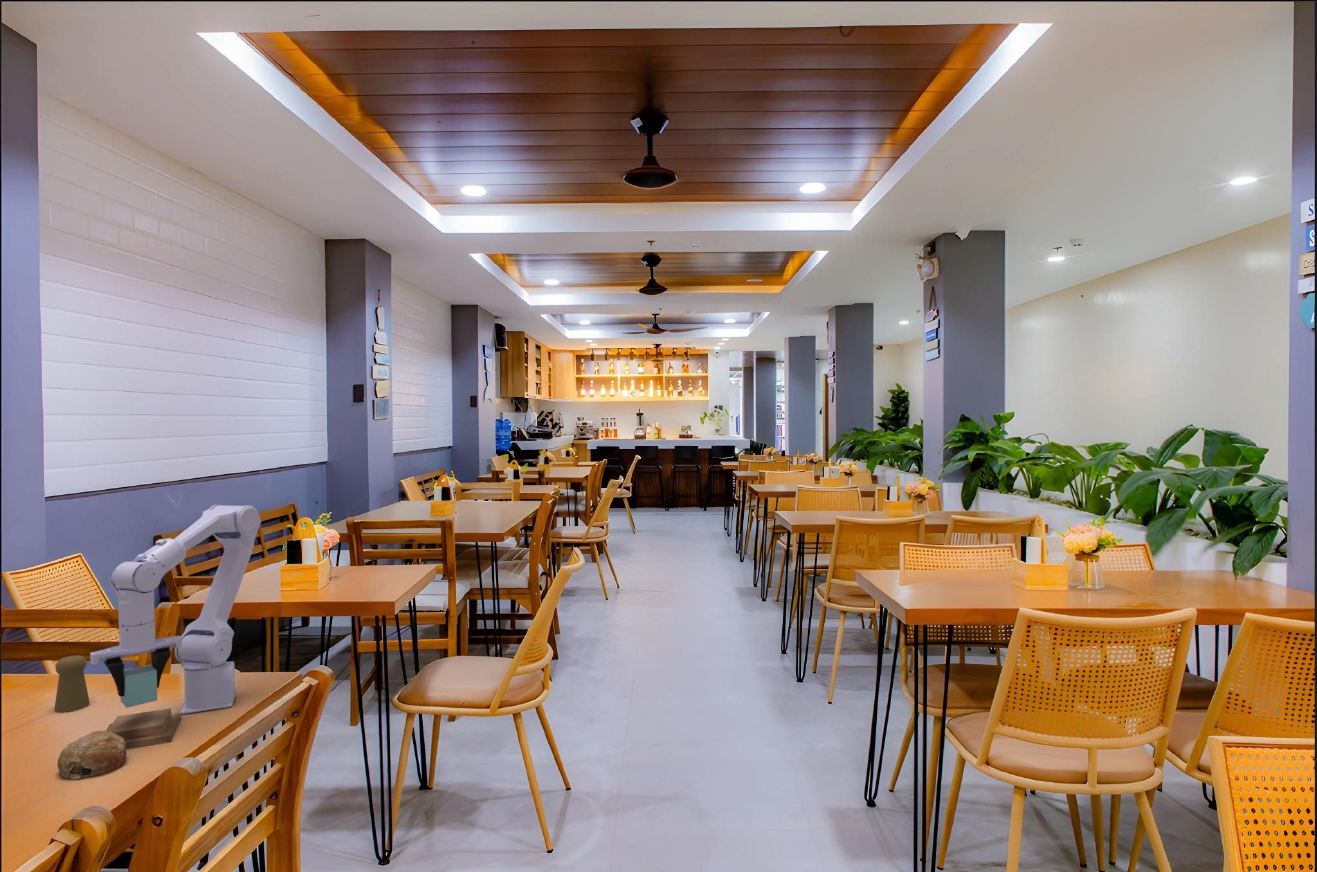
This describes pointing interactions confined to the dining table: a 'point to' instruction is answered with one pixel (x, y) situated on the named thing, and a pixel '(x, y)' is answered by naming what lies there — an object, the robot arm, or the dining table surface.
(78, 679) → the cork
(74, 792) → the dining table surface
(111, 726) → the walnut stand
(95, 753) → the brown rounded lump
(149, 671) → the teal block
